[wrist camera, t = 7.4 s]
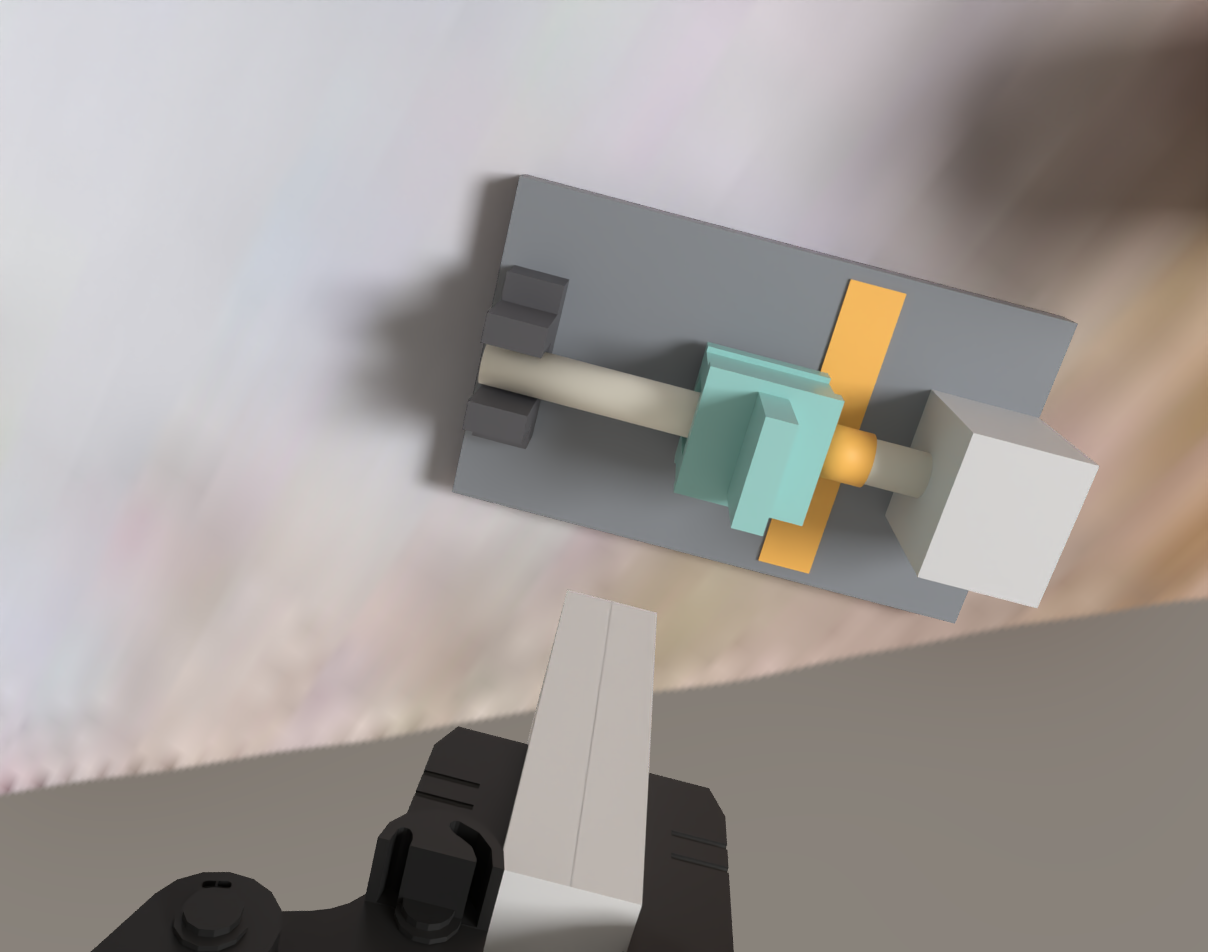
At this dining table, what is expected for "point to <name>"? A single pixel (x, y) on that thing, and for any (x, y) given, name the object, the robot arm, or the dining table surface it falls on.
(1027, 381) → the cable board
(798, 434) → the sleeve
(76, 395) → the dining table surface
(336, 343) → the dining table surface
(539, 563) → the dining table surface
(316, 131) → the dining table surface
